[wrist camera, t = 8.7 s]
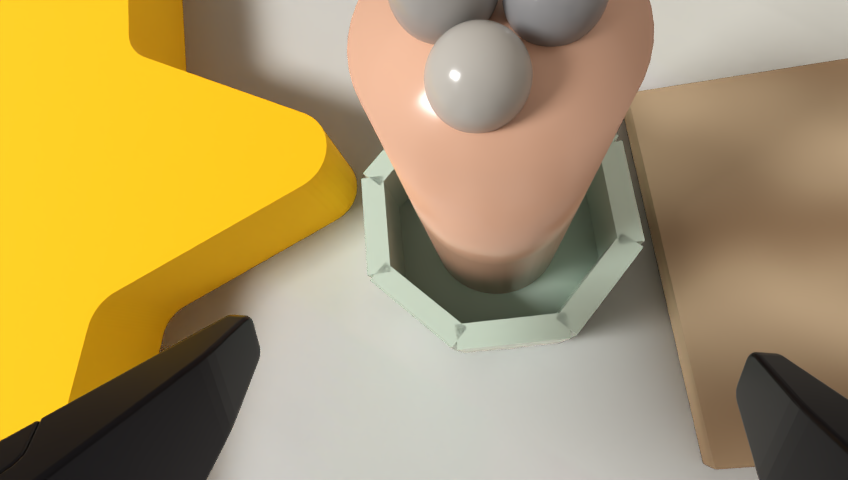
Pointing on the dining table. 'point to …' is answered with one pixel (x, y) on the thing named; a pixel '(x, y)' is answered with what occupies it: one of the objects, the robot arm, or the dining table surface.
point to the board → (748, 231)
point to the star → (131, 191)
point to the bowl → (516, 311)
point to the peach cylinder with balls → (498, 117)
